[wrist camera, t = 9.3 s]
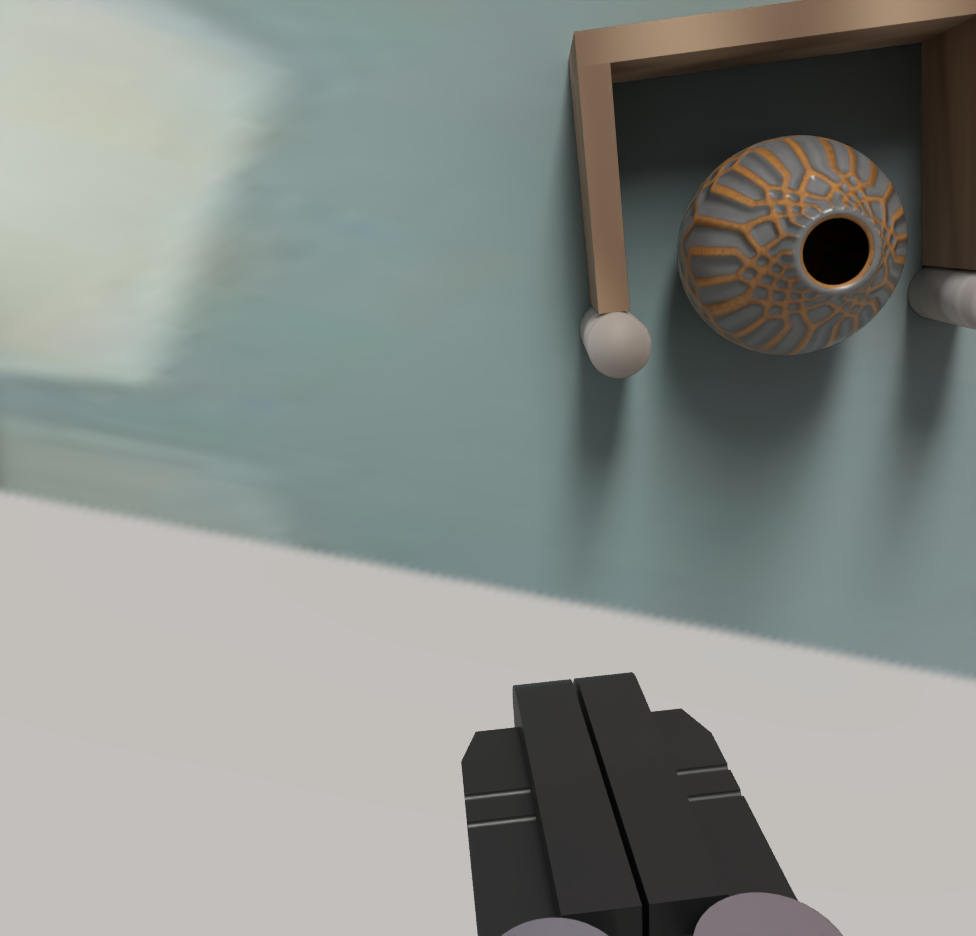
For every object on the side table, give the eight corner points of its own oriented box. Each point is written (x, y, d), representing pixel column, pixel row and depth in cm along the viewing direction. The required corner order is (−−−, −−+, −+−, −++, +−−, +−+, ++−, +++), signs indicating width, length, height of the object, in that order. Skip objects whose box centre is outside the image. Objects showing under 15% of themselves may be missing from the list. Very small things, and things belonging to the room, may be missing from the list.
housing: (581, 358, 35) (590, 381, 29) (554, 60, 32) (558, 26, 27) (964, 315, 34) (1044, 332, 28) (966, 4, 31) (1056, -42, 26)
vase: (895, 258, 33) (1018, 269, 25) (738, 378, 35) (805, 426, 26) (784, 103, 32) (873, 58, 24) (626, 233, 34) (658, 234, 25)
